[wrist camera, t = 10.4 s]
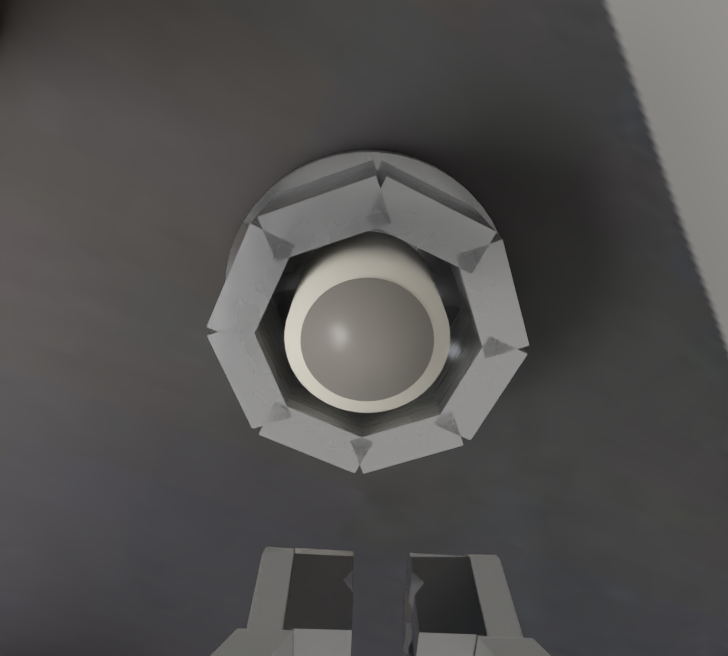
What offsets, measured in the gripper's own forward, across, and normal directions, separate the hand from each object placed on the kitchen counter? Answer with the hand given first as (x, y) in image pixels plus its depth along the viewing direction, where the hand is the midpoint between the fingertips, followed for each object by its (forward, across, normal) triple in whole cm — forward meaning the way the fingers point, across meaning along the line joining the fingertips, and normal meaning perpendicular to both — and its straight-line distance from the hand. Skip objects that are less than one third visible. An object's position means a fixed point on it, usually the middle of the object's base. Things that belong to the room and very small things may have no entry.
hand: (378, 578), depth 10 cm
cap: (+14, 0, 0) cm, 14 cm away
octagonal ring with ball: (+15, 0, 0) cm, 15 cm away
